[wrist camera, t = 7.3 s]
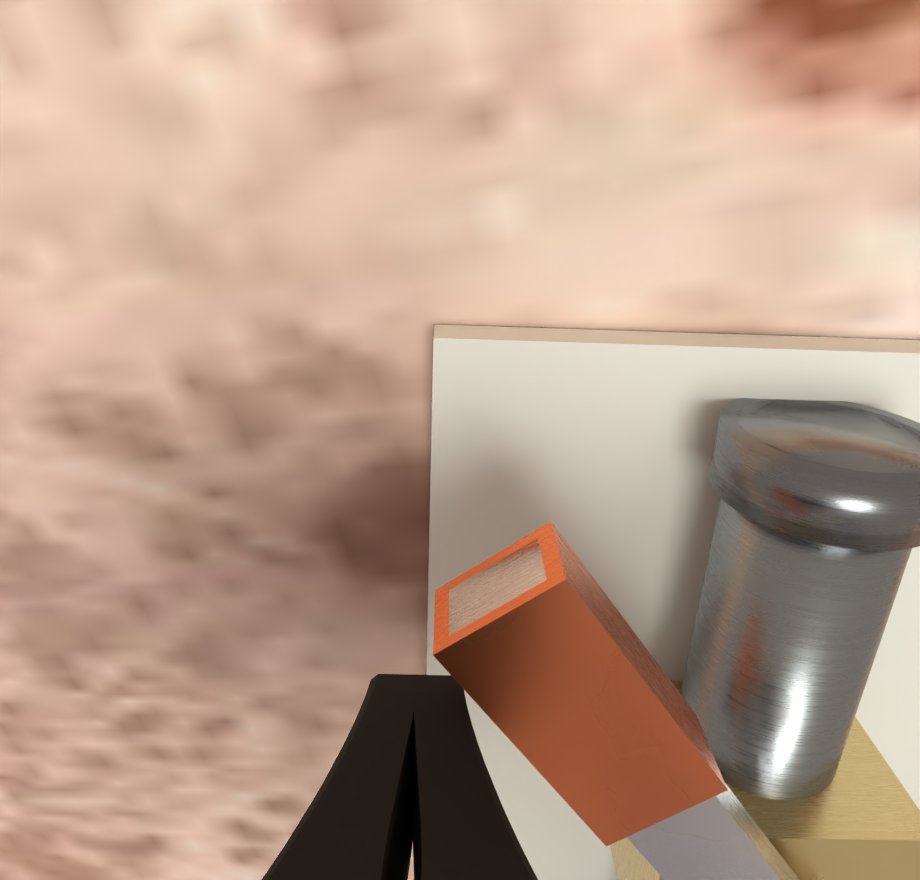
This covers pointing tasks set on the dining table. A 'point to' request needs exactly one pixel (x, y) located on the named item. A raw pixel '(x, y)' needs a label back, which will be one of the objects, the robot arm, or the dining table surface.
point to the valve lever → (595, 711)
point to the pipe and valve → (804, 630)
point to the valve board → (634, 503)
